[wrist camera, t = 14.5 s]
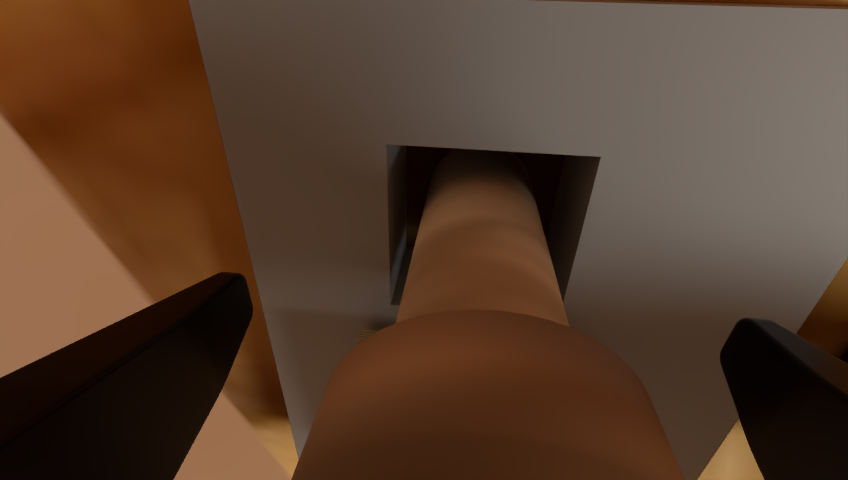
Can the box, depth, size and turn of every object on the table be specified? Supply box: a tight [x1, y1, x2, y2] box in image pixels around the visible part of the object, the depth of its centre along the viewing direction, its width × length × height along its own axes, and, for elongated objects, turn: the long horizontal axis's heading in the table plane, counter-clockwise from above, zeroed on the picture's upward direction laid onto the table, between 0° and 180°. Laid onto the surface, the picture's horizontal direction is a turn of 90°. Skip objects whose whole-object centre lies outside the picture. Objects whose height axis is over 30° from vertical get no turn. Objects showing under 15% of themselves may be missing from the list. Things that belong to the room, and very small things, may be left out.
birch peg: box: [291, 148, 685, 480], centre depth 8 cm, size 4×4×10 cm
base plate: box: [188, 0, 848, 480], centre depth 13 cm, size 14×18×3 cm
